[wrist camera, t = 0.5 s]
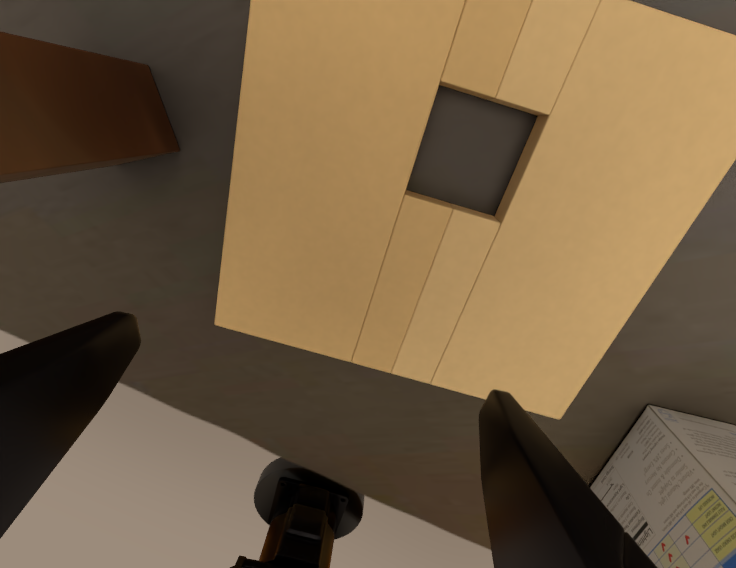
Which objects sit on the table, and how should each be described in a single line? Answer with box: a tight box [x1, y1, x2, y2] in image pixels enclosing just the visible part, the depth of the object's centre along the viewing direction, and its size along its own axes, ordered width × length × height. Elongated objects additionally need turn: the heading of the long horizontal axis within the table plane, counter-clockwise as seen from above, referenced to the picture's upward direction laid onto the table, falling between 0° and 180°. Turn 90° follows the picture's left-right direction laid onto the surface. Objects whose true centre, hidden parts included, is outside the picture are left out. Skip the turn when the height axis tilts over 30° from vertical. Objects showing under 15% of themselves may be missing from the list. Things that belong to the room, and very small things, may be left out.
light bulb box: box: [590, 405, 736, 568], centre depth 21 cm, size 11×7×11 cm, turn 168°
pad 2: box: [391, 0, 736, 420], centre depth 19 cm, size 20×11×2 cm, turn 165°
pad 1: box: [214, 0, 532, 373], centre depth 18 cm, size 20×11×2 cm, turn 165°
